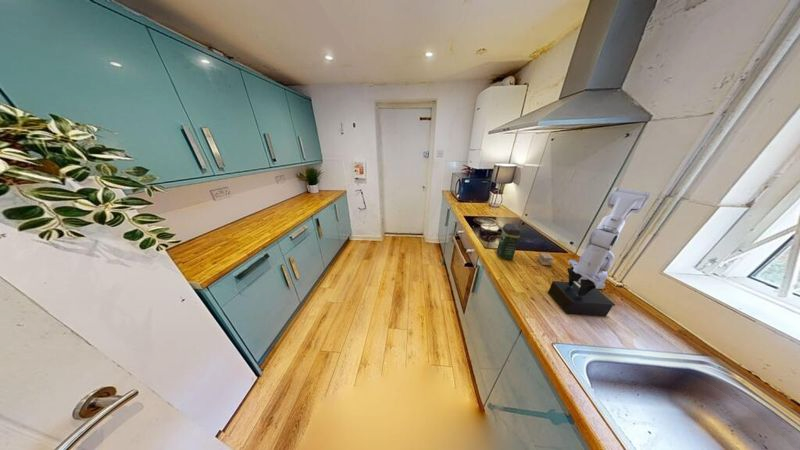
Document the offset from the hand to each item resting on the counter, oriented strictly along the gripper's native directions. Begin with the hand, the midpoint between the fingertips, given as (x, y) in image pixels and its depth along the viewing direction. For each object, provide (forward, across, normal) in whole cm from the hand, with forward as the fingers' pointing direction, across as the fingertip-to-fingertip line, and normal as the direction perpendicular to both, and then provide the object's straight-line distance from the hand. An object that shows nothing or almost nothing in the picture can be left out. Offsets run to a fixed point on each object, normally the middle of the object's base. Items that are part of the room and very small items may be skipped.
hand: (576, 290), depth 77 cm
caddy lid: (+1, 0, +3) cm, 3 cm away
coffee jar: (+7, -34, -12) cm, 37 cm away
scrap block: (+7, -29, +7) cm, 31 cm away
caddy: (+7, 0, +2) cm, 7 cm away
